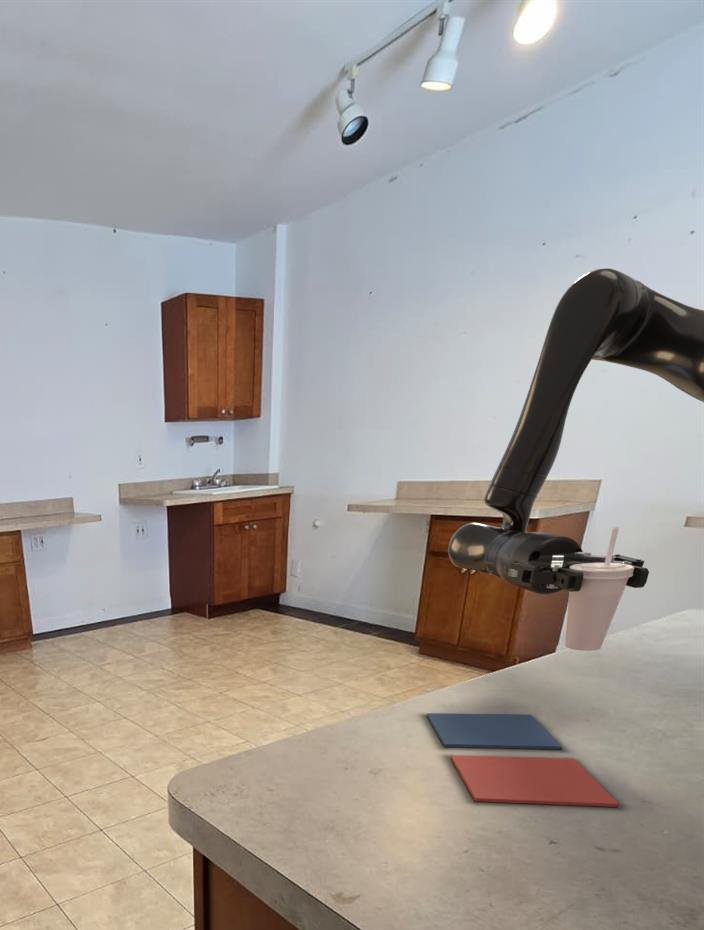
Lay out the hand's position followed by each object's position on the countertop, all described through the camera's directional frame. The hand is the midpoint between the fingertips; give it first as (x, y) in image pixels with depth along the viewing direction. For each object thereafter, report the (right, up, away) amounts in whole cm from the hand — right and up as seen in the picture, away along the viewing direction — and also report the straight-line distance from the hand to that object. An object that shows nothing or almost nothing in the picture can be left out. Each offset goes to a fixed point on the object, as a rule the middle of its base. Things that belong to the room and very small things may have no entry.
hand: (611, 580), depth 74 cm
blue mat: (-9, -17, +9) cm, 21 cm away
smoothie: (+1, -7, +6) cm, 9 cm away
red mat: (-12, -23, -4) cm, 27 cm away
